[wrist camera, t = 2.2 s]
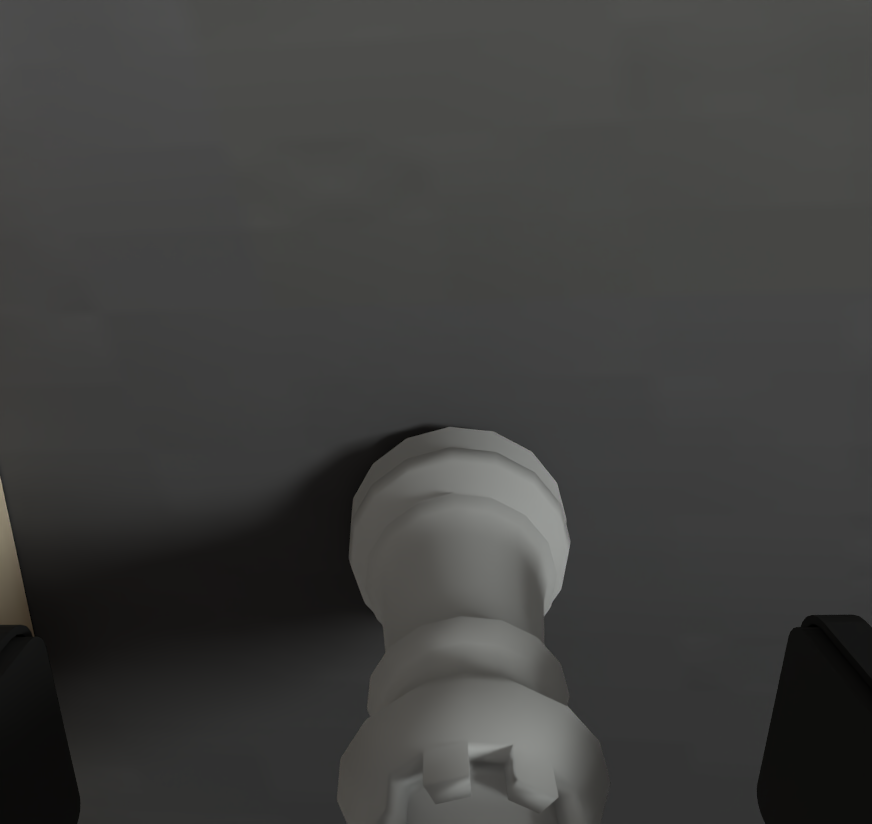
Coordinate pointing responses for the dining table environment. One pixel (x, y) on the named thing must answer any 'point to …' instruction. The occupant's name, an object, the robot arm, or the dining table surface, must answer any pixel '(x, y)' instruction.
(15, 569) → the wooden slotted rack
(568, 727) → the rook chess piece
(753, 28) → the dining table surface
